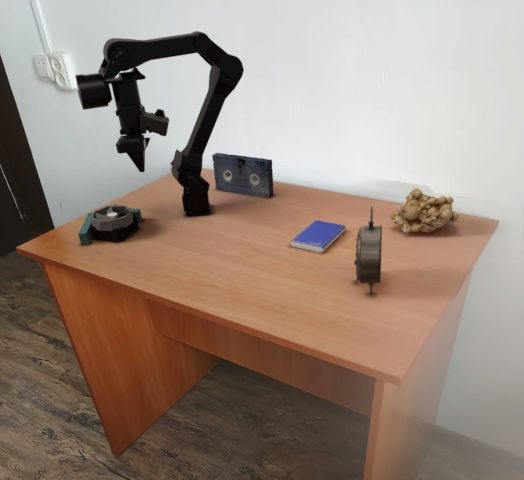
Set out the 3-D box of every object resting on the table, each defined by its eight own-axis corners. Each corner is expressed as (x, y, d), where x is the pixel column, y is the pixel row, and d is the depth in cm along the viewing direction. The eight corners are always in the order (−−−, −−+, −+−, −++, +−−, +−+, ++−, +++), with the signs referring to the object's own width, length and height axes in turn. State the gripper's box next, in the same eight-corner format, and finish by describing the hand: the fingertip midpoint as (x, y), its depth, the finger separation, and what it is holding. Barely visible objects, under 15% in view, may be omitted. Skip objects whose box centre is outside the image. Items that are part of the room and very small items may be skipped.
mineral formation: (408, 211, 127) (468, 219, 119) (385, 239, 120) (447, 250, 112) (408, 181, 121) (471, 188, 113) (383, 209, 115) (448, 218, 107)
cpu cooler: (115, 222, 118) (81, 218, 122) (121, 244, 122) (87, 239, 125) (139, 205, 126) (106, 202, 129) (144, 227, 129) (111, 223, 133)
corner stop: (142, 219, 133) (139, 208, 132) (136, 240, 123) (133, 229, 121) (91, 223, 133) (88, 212, 131) (81, 245, 123) (77, 234, 121)
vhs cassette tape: (274, 195, 141) (272, 159, 135) (268, 198, 139) (266, 162, 133) (221, 186, 149) (217, 152, 143) (215, 189, 147) (211, 155, 141)
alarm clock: (379, 298, 96) (387, 219, 86) (350, 297, 97) (355, 218, 87) (380, 270, 104) (387, 195, 94) (354, 269, 106) (358, 194, 95)
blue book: (322, 246, 111) (345, 225, 119) (290, 240, 115) (314, 219, 123) (322, 253, 112) (345, 231, 120) (290, 246, 116) (314, 225, 124)
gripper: (160, 109, 107) (172, 182, 117) (166, 92, 122) (177, 157, 131) (108, 114, 107) (124, 186, 116) (120, 95, 122) (134, 161, 131)
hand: (142, 171), depth 124 cm, fingers closed
